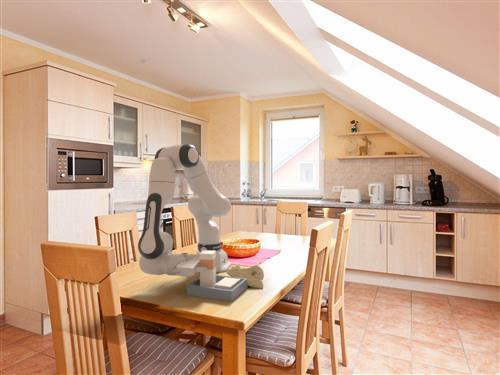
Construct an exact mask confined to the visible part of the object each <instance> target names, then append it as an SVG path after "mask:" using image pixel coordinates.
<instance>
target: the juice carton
mask: <svg viewBox="0 0 500 375" xmlns="http://www.w3.org/2000/svg"><path fill="white" fill-rule="evenodd" d="M203 266H207V267H208V270H207V271H206V272H199V277H200V286H204V287H212V288H214V285H215V284H216V275H217V272H216V251H208V250H203V251H202V252H201V253H200V267H203Z"/></svg>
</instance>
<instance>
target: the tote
mask: <svg viewBox="0 0 500 375" xmlns="http://www.w3.org/2000/svg"><path fill="white" fill-rule="evenodd" d="M225 277H227V278H236V279H240V283H239V284H238V285H236V286H235V287H234V288H233V289H231V290H226V289H219V288H212V287H204V286H200V276H199V277H197V278H196V279H194V280H193V281H191V282H189V283H187V284H186V287H185V288H186V296H191V297H197V298H203V299H204V298H205V299H210V300H211V299H212V300H218V301H222V302H223V301H224V302H231V303H232V302H233V301H235V299H237V298H238V297H239V296H241V295H242V293H244V292H245V291H246V290H247V289H248V287H249V286H248V279H246V278H238V277H231V276H229V275H219V274H216V283H218V282H219V281H221V280H222V279H223V278H225Z"/></svg>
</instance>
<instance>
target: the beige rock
mask: <svg viewBox="0 0 500 375" xmlns="http://www.w3.org/2000/svg"><path fill="white" fill-rule="evenodd" d="M225 273H226V274H227V276H229V277H238V278H246V279H248V287H250V288H252V289H253V288H255V289H263V288H264V283H263V280H264V276H265V274H264V269H263V268H262V267H261V266H259V264H256V265H252V266H251V267H241V266H240V264H237V265H236V266H232V267H231V268H230V267H229V268H228V269H227V270H226V271H225Z"/></svg>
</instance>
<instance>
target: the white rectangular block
mask: <svg viewBox="0 0 500 375" xmlns="http://www.w3.org/2000/svg"><path fill="white" fill-rule="evenodd" d="M239 283H240V279H236V278H227V277H225V278H223V279H222V280H221V281H219V282H218V283H216V284H215V285H214V288H219V289H226V290H231V289H233V288H234V287H235V286H236V285H238V284H239Z"/></svg>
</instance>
